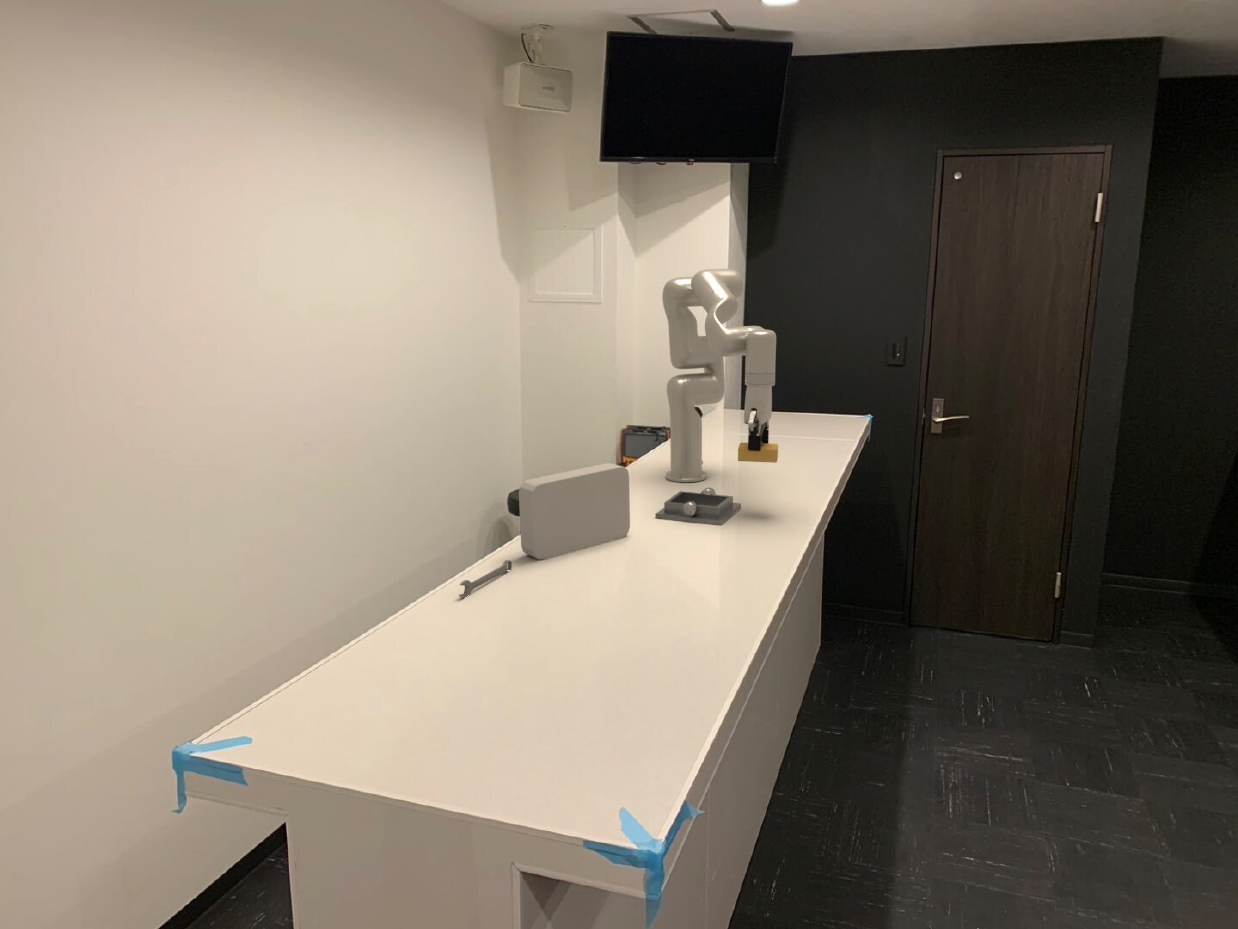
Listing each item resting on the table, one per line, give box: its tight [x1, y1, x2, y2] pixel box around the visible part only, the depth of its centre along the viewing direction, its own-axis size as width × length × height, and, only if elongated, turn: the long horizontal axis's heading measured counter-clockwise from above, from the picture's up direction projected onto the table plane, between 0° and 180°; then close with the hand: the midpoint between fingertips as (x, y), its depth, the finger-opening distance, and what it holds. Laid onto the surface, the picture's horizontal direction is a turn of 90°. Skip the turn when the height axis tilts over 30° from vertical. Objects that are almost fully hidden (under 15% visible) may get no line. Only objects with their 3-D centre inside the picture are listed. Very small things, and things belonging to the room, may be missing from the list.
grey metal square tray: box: [655, 487, 742, 526], centre depth 248 cm, size 17×18×5 cm
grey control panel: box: [518, 462, 631, 560], centre depth 223 cm, size 29×8×18 cm, turn 129°
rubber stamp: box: [737, 422, 779, 464], centre depth 242 cm, size 10×6×12 cm, turn 78°
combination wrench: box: [458, 559, 513, 599], centre depth 200 cm, size 4×1×20 cm
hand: (758, 446), depth 242 cm, fingers closed on rubber stamp, 6 cm apart
